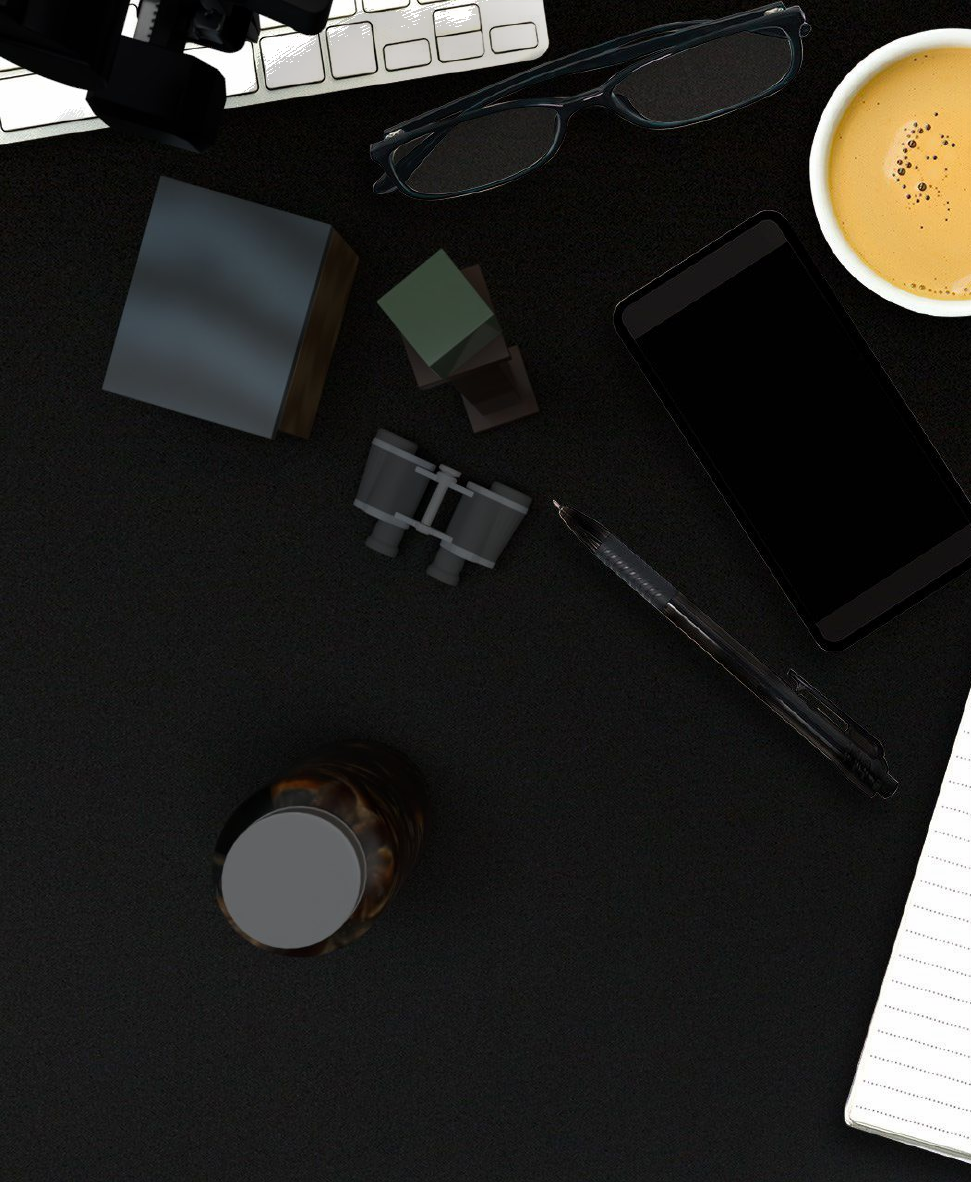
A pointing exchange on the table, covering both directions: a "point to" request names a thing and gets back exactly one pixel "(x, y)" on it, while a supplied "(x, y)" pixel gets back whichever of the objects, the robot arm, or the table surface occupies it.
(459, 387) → the pillar
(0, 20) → the robot arm
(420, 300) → the cube
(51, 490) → the table surface
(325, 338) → the box
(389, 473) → the binoculars
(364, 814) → the jar
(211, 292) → the lid
